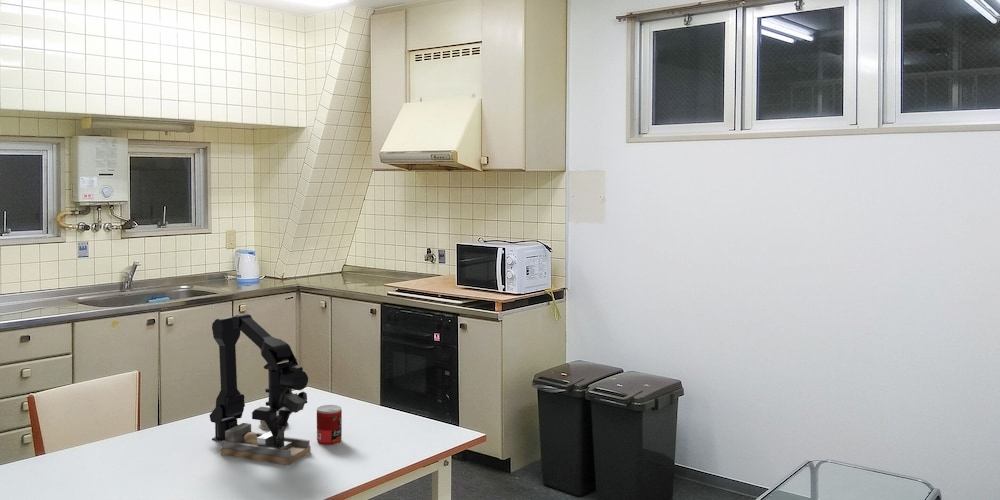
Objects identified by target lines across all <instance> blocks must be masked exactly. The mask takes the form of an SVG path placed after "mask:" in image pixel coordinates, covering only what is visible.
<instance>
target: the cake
mask: <svg viewBox="0 0 1000 500" xmlns="http://www.w3.org/2000/svg"><path fill="white" fill-rule="evenodd" d="M259 423H260V424H259V425H258V428H259V429H261V430H264V431H270V429H269V427H268V425H267V424H266V422H265V421H263V420H259ZM288 426H289V422H287V425H286V428H287V427H288Z"/></svg>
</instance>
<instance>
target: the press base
mask: <svg viewBox="0 0 1000 500" xmlns="http://www.w3.org/2000/svg"><path fill="white" fill-rule="evenodd" d="M249 432H252V423H247V422H242V423H240V424H238V425H237V426H235V427H233V428H231V429H229V430H227V431H225V441H221V448H220V456H227V457H231V458H232V457H233V458H237V459H238V458H240V459H243V460H244V459H245V460H250V461H251V460H252V461H258V462H265V463H269V464H276V465H283V466H289V465H292V464H294V463H295V462H297V461H299V460H301V458H303V457H305V456H307V455H308V454H311V451H312V449H311V444H310V443H311V442H310V439H306V438H305V439H304V438H297V437H289V436H284V441H288V442H292V446H290V447H288V448H286V449H277V448H270V447H264V446H257V445H250V444H245V442H244V436H245V435H246V434H247V433H249ZM253 432H254V431H253ZM254 433H255V434H256V435H257V437H260V436H262V435H264V434H265V433H262V432H261V433H260V432H254Z"/></svg>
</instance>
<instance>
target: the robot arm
mask: <svg viewBox="0 0 1000 500" xmlns="http://www.w3.org/2000/svg"><path fill="white" fill-rule="evenodd" d="M251 315H252V314H249V313H242V314H241V313H240V314H236V315H234V316H228V317H221V318H216V319H215V320H214V321H213V322H212V324H211V330H212V336H213V339H214V341H215V342H216V343H217V345H218V348H219V349H218V350H219V351H218V352H219V376H220V377H219V378H220V391H219V393H218V395H217V397H216V399H215V407H214V409H212V411H211V413H210V414H209V419H210V420H209V421H210V422H211V423H214V425H215V427H214V430H215V431H214V432H215V434H214V435H215V436H214V437H212V438H211V440H212V441H216V442H222V441H225V431H227V430H229V429H231V428H233V427H235V426H237V425H239V424H238V419H242V418H243V413H244V409H245V407H246V404H245V395H244V394H243V393H241V392H240V391H239V389H238V374H237V373H238V372H237V353H236V352H237V351H236V350H237V348H236V344H237V343H238V341H239V339H240V337H241V332H242V333H243V334H244V335H245V336H246V337H247V338H248V339H249V340H251V342H253V343H254V344H255V346H257V347H258V348H259V349H260V355H261V356H262V358H263V359H264V360H265V362H266V364H265V365H264V366H263V369H265V370H267V371H268V374H267V375H268V377H267V379H268V382H267V383H268V387H267V388H265V393H268V401H265V406H259V407H258V408H255V409H254V410H253V411H251V419H252V420H255V421H257V420H258V421H260V420H263V421H265V422H266V424H267V425H268V427H269V429H270V430H269V432H270V431H271V433H272V435H273V436H274V437H277V434H278V425H284V432H285V431H286V428H287V427H286V425H287V422H288V421H289V418H290V415H292V414H293V413H295V414H296V413H298V412H300V411H303V410H304V406H305V405H306V404H307V403H308V395H307V392H305V391H302V390H304V389H305V388H306V387H307V386H308V383H309V376H308V374H307V372H306V371H304V369H303V366H298V365H299V363H298V360H297V358H296V356H295V354H294V352H293V351H292V348H291V346H290V344H288V343H287V342H286V341H285V340H282V339H280V338H277V337H274V336H272V335H271V334H270V333H268V331H266V330H265V328H263V327H262V326H261V325H260V324H258V322H257V321H255V320H254V319H253V317H252V316H251ZM293 390H295V391H301V392H299V393H297V392H296V393H293ZM267 406H268V407H267ZM288 423H289V422H288Z"/></svg>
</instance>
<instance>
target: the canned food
mask: <svg viewBox="0 0 1000 500" xmlns="http://www.w3.org/2000/svg"><path fill="white" fill-rule="evenodd" d="M342 413H343V411H342V407H341V406H339V405H336V404H324V405H320V406H317V408H316V440H317V443H319V445H323V446H331V445H332V446H334V445H337V444H340V443H341V442H342V439H343V438H342V435H343V434H342V428H343V427H342V425H343V424H342V422H343V421H342V420H343V419H342Z"/></svg>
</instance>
